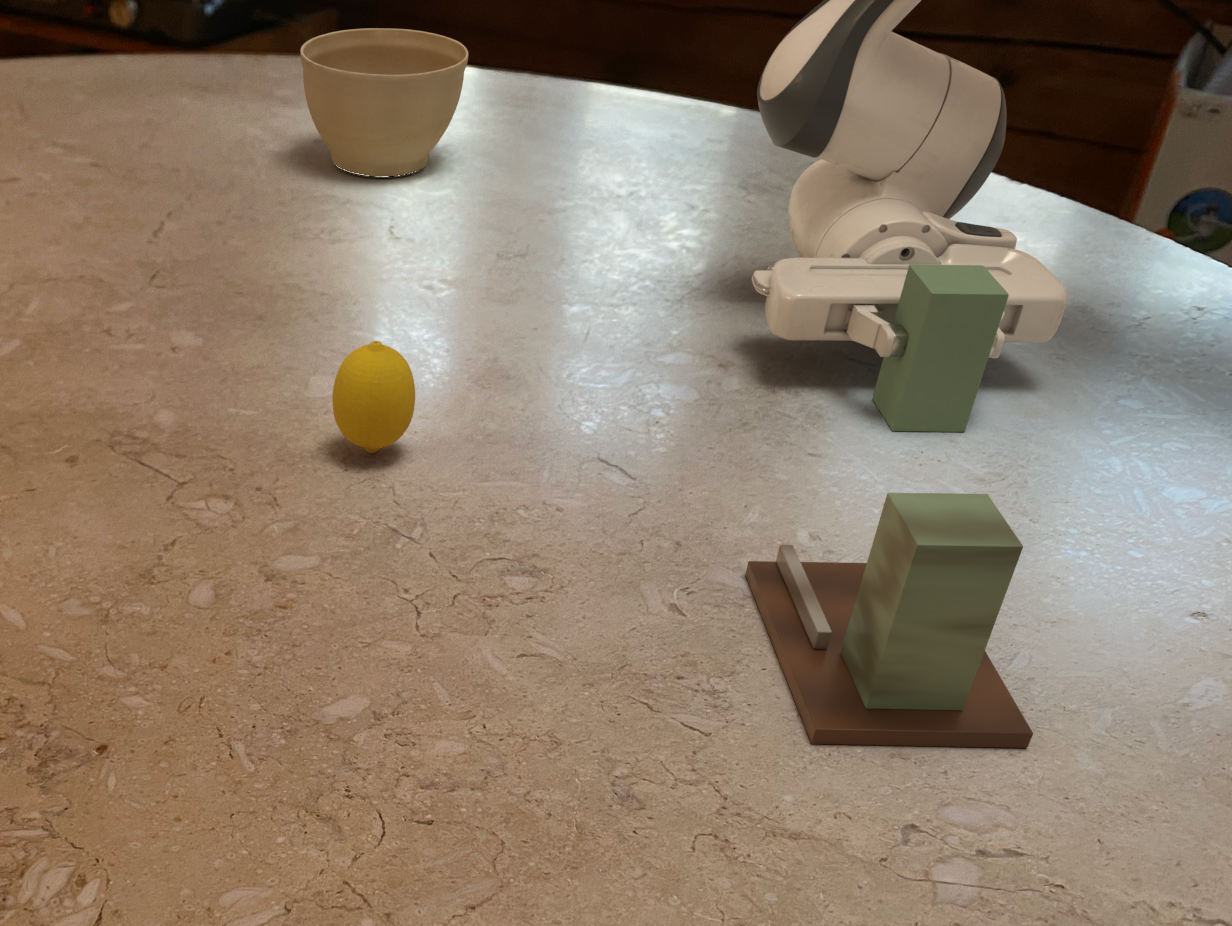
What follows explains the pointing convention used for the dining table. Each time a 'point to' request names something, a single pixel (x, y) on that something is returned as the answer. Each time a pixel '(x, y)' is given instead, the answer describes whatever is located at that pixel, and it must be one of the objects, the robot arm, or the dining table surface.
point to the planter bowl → (382, 95)
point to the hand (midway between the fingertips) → (943, 347)
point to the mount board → (837, 689)
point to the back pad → (940, 347)
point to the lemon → (373, 396)
